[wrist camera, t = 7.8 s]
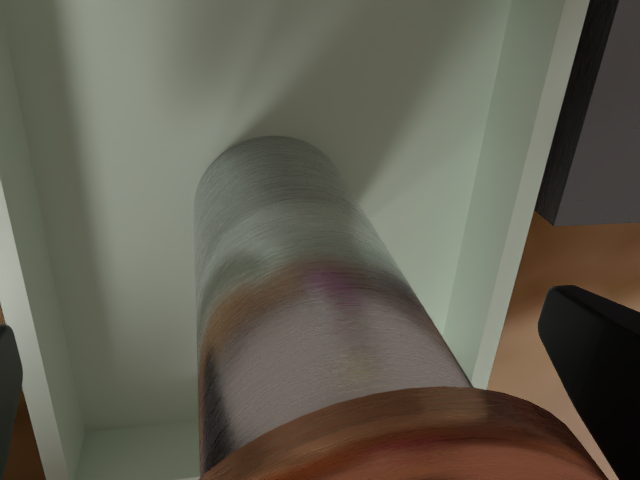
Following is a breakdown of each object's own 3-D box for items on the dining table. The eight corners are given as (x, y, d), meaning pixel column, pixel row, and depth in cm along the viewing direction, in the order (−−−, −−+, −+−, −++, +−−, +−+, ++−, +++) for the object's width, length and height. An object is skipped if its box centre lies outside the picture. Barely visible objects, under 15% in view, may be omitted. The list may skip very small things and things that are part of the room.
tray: (435, 391, 18) (469, 454, 16) (72, 430, 16) (53, 509, 14) (543, -123, 11) (624, -133, 9) (-58, -180, 9) (-133, -213, 7)
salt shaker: (361, 288, 15) (574, 731, 7) (173, 301, 14) (154, 840, 6) (381, 108, 12) (744, 446, 4) (157, 108, 11) (88, 546, 3)
